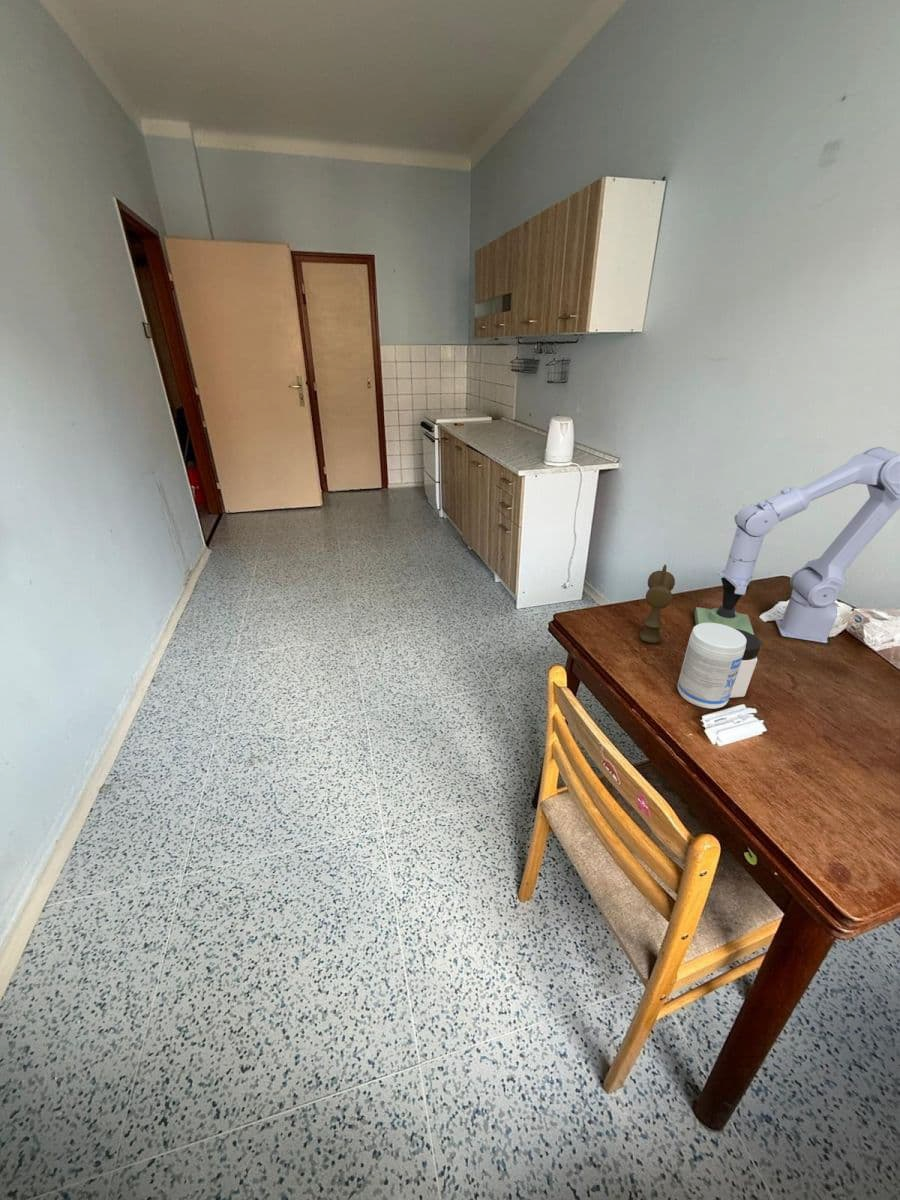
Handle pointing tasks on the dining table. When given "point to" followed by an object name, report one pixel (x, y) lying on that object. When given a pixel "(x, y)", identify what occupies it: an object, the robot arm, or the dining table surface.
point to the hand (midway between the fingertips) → (727, 607)
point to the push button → (726, 612)
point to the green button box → (723, 619)
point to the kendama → (657, 603)
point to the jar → (746, 665)
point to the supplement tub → (711, 664)
